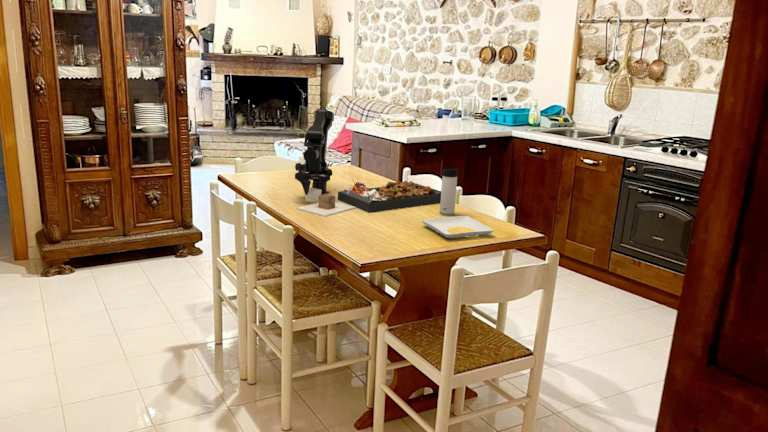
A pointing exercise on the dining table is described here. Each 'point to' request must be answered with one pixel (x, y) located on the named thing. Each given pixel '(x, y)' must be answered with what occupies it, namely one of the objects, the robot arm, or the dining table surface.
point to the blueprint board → (326, 212)
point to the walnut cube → (326, 201)
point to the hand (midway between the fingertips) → (313, 193)
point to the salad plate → (462, 221)
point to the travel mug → (448, 191)
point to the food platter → (389, 196)
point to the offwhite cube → (313, 195)
